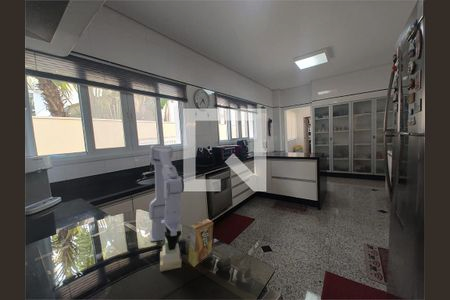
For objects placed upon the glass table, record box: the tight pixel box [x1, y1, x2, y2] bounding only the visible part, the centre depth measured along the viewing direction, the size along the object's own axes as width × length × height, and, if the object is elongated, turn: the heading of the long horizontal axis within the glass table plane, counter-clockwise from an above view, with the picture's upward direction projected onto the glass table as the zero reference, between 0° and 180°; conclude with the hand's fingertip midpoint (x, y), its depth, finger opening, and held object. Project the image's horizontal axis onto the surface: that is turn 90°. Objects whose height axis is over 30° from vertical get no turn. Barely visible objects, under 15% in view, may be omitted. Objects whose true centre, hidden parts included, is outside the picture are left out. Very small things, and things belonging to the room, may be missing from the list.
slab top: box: [162, 242, 181, 263], centre depth 67 cm, size 6×6×3 cm
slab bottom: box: [159, 249, 182, 272], centre depth 67 cm, size 8×8×3 cm
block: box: [164, 237, 177, 253], centre depth 66 cm, size 4×4×4 cm
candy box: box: [188, 218, 214, 268], centre depth 69 cm, size 9×4×15 cm, turn 137°
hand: (171, 243), depth 66 cm, fingers open, 7 cm apart
